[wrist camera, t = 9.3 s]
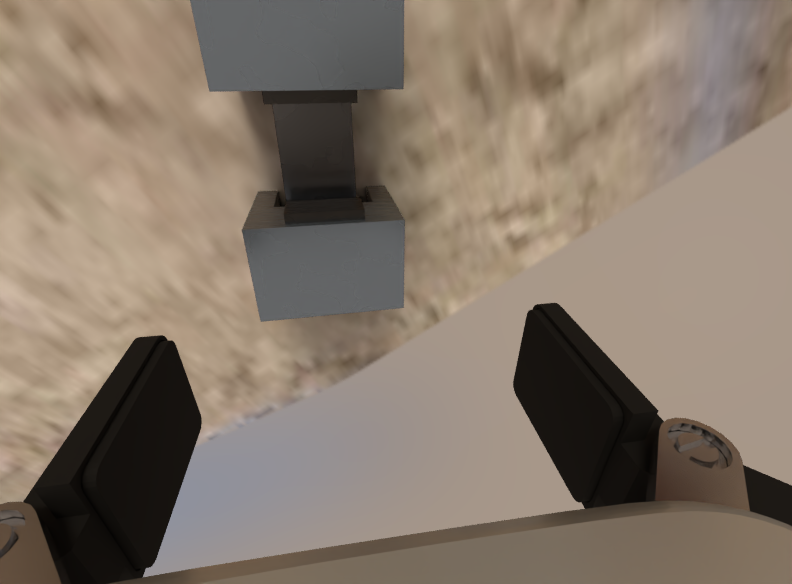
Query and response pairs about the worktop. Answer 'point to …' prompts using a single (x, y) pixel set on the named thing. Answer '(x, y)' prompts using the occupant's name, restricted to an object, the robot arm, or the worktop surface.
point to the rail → (305, 75)
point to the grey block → (325, 255)
